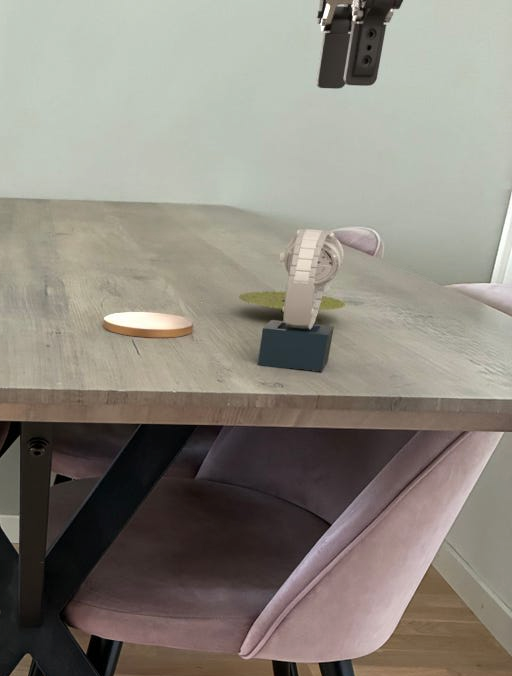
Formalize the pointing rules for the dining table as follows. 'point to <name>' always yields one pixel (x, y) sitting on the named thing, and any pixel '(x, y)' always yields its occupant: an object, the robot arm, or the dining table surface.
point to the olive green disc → (278, 300)
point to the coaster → (148, 324)
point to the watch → (303, 304)
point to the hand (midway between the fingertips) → (343, 86)
